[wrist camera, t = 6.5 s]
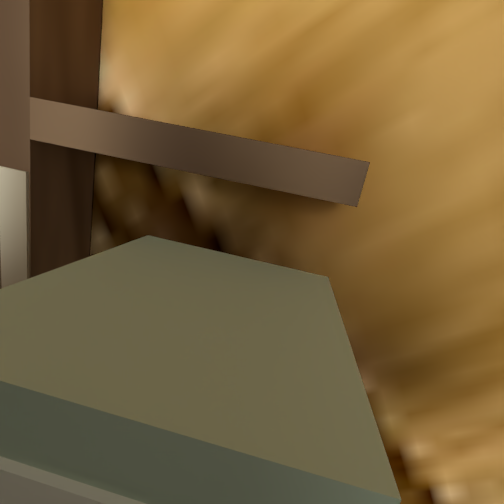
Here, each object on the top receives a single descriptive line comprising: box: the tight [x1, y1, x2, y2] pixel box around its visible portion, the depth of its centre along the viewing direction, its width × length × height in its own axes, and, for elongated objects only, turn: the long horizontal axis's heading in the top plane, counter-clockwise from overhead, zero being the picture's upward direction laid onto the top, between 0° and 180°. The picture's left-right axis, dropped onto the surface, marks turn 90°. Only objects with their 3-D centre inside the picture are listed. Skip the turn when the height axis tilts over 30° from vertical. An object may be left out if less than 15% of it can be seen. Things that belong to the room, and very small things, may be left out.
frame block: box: [0, 235, 401, 504], centre depth 6 cm, size 5×7×6 cm
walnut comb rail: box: [0, 0, 370, 289], centre depth 10 cm, size 11×26×3 cm, turn 169°
